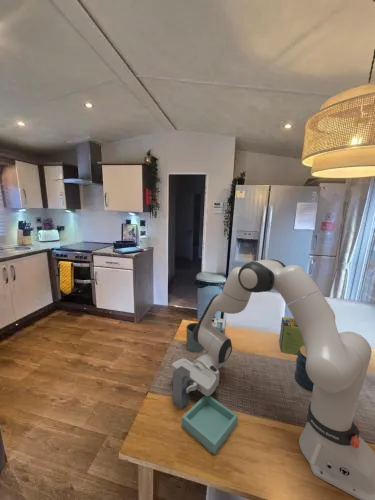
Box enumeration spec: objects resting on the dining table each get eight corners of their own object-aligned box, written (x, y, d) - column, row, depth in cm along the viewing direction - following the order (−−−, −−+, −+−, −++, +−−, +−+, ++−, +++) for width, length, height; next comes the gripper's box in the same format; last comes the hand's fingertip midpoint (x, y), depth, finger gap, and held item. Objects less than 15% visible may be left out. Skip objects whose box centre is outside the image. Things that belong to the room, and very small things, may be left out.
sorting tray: (237, 424, 83) (238, 415, 83) (214, 455, 73) (214, 444, 72) (206, 402, 92) (206, 393, 92) (181, 426, 82) (181, 416, 81)
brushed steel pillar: (189, 402, 92) (190, 371, 89) (181, 409, 89) (181, 377, 86) (180, 395, 95) (181, 365, 92) (172, 402, 92) (173, 371, 89)
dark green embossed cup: (187, 341, 133) (187, 321, 130) (205, 343, 131) (205, 323, 129) (184, 352, 123) (185, 331, 120) (203, 354, 121) (204, 333, 119)
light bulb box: (224, 346, 129) (225, 328, 127) (211, 344, 130) (212, 326, 128) (224, 335, 139) (226, 318, 137) (213, 334, 140) (214, 317, 138)
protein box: (312, 357, 121) (316, 330, 118) (280, 352, 125) (283, 325, 122) (308, 346, 131) (311, 320, 128) (278, 341, 135) (281, 316, 132)
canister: (293, 385, 102) (297, 349, 99) (295, 367, 113) (299, 334, 110) (327, 397, 96) (334, 359, 93) (326, 377, 107) (331, 342, 104)
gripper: (184, 351, 106) (161, 366, 96) (222, 373, 93) (200, 393, 82) (184, 363, 107) (161, 379, 97) (221, 387, 94) (200, 408, 84)
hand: (179, 386), depth 90 cm, fingers closed on brushed steel pillar, 5 cm apart
